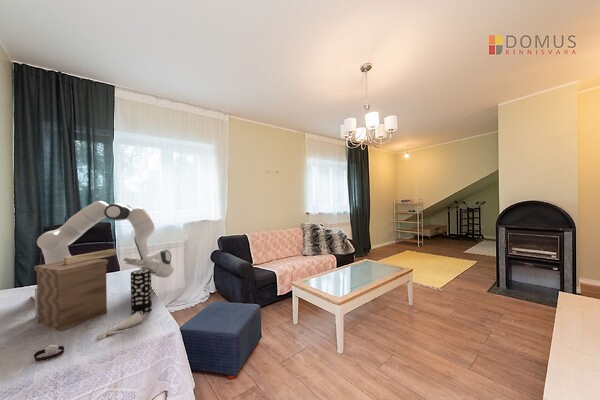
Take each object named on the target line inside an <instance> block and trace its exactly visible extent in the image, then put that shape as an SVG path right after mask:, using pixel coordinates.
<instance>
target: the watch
mask: <svg viewBox="0 0 600 400" xmlns="http://www.w3.org/2000/svg"><path fill="white" fill-rule="evenodd" d="M46 353H47V354H50V355H45V356H43V355H42V354H46ZM64 353H65V346H64V345H57V344H50V345H49V346H47V347H45V348H44V349H40V350H37V352H35V353H34V354H33V358H34V361H35V362H43V361H42V360H44V361H48V360H51V358H52V359H55V358H57V357H60V356H61V355H62V354H64ZM41 355H42V356H41ZM54 357H55V358H54ZM47 359H48V360H47Z"/></svg>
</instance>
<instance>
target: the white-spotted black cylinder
mask: <svg viewBox="0 0 600 400" xmlns="http://www.w3.org/2000/svg"><path fill="white" fill-rule="evenodd" d="M152 298H153V297H152V275H151V269H141V268H140V269H137V270H134V271H131V272H130V300H131V301H130V310H131V311H130V313H131V315H133V314H135V313H136V312H138V313H140V314H141V313H142V312H143V315H142V316H144V314H145V313H147V314H148V313H151V312H152V310H153V309H152V308H153V307H152V305H153V304H152V303H153V302H152ZM131 315H130V316H131Z"/></svg>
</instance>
